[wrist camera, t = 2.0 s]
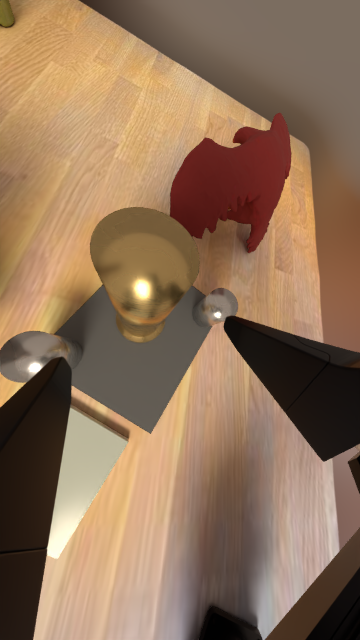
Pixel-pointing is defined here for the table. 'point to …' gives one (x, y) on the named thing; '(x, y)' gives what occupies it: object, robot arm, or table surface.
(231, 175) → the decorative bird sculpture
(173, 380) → the mat
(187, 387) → the table surface
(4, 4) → the plant pot
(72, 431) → the tile
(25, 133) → the table surface
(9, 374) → the spacers
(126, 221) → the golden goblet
